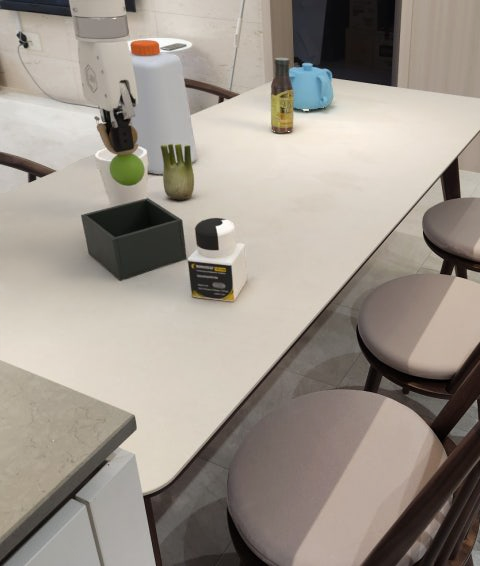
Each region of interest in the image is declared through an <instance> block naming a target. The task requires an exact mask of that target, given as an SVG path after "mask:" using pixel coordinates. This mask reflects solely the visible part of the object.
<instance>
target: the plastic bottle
mask: <svg viewBox="0 0 480 566" xmlns="http://www.w3.org/2000/svg"><path fill="white" fill-rule="evenodd" d="M129 46H130V55H131V60H132V64H133V69H134V75H135V80H136V87H137V95H138V104H137V105H136V107H133V108H134V112H135V117H134V118H131V122H132V126H133V127H134V128H135V129H136V131H137V134H138V139H137V142H136V144H138V145H139V146H138V147H142V148H144V149H146V150H147V157H148V166H147V170H148V173H149V174H154V175H163V171H164V163H163V156H162V151H161V145H167V148H168V144H173V149H174V154H175V159H176V163H177V156H176V150H175V144H181V147H182V154H183V160H184V145H190V150H191V162H192V163H193V162H195V161H196V160H197V157H198V153H197V145H196V143H195V142H196V139H195V135H194V129H193V124H192V117H191V112H190V106H189V100H188V95H187V94H188V93H187V89H186V83H185V76H184V71H183V66H182V60H181V58H180V57H179V56H178V55H177V54H174V53H170V52H169V53H168V52H162V51H161V48H160V43H159V42H158V41H157V40H151V39H138V40H133V41H131V42H130V45H129ZM119 106H121V103H120V104H119ZM121 112H122V111H121ZM121 112H120V113H121ZM136 144H135V145H136ZM168 153H169V148H168ZM184 162H185V160H184Z"/></svg>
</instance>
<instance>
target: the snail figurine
mask: <svg viewBox="0 0 480 566" xmlns="http://www.w3.org/2000/svg"><path fill="white" fill-rule="evenodd" d="M94 119H95V122H96V124H97V125H96V129H97V132H98V134H99V136H100V140H101V141H102V143H103V145H104V148H107V149H108V150H109V151H110V152H111V153H113V154H117V155H116V156H115V157H114V158H113V159H112V161H111V163H110V173H111V176H112V177H113V179H114V180H115V181H116V182H118V183H119V184H121V185H125V186H132V185H135V184H137V183H138V182H140V181H141V179H142V178H143V176H144V172H145V169H144V165H143V162H142V161H141V159H140V158H139V157H137V156H136V155H134V154H132V153H133V152H135V151H136V149H137V148H138V146H139V145H138V144H136V142H137V139H138V134H137V131H136V129H135V128H134V127H133V126H132V125H131V130H132V136H133V143H134V149H132V150H127V151H122V152H115V151H114V149H113V143H112V137H111V131H110V134H109V137H108V134H107V132H106V126H105V125H104V123H103V122H101V123H99V121H100V120H101V117H99V116H97V115H96V116H94ZM135 144H136V145H135Z"/></svg>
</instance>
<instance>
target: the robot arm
mask: <svg viewBox="0 0 480 566" xmlns="http://www.w3.org/2000/svg"><path fill="white" fill-rule="evenodd" d="M125 2H126V1H125V0H68V4H69V8H70V9H69V10H70V14H71V19H72V25H73V30H74V34H75V35H74V36H75V39H76V40H77V56H78V65H79V74H80V80H81V89H82V93H83V97H84V99H85V100H87V102H89V103H91V104H93V105H94V106H97V107H98V109H99V110H98V111H99V115H100V120H101V123H103V124H104V125H105V126H106V132H107V134H108V137H109V134H110V131H111V137H112V143H113V149H114V151H115V152H122V151H127V150H132V149H134V143H133V136H132V130H131V125H132V122H131V118H134V117H135V112H134V108H133V107H136V105H137V104H138V95H137V87H136V80H135V75H134V69H133V64H132V60H131V55H130V53H131V50H130V48H129V43H128V40H130V39H131V38H130V29H129V24H128V23H129V22H128V15H127V9H126V3H125ZM120 103H121V106H119V104H120ZM121 111H122V112H121ZM120 112H121V113H120Z"/></svg>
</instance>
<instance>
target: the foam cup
mask: <svg viewBox="0 0 480 566" xmlns="http://www.w3.org/2000/svg"><path fill="white" fill-rule="evenodd" d="M132 154H134V155H136V156H137V157H139V158H140V159H141V161H142V162H143V165H144V169H145V172H144V176H143V178H142V179H141V181H140V182H138V183H137V184H135V185H132V186H125V185H121V184H119V183H118V182H116V181H115V180H114V179H113V177H112V176H111V173H110V163H111V161H112V159H113V158H114V157H115V156H116V155H117V154H113V153H111V152H110V151H109V150H108V149H107V148H106V147H104V148H101V149H99V150H98V151H96V152H95V154H94V158H95V159H94V160H95V164H96V168H97V170H98V172H99V175H100V178H101V181H102V183H103V187H104V189H105V193H106V196H107V199H108V202H109V205H110V207H114V206H118V205H122V204H126V203H130V202H134V201H138V200H142V199H146V198H149V197H148V193H149V192H148V188H149V187H148V182H149V181H148V179H149V178H148V176H149V175H148V170H147V166H148V157H147V150H146V149H144V148H142V147H138V148H137V149H136V151H135V152H133V153H132Z"/></svg>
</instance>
